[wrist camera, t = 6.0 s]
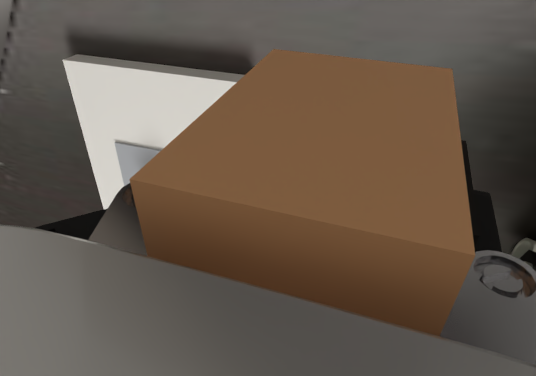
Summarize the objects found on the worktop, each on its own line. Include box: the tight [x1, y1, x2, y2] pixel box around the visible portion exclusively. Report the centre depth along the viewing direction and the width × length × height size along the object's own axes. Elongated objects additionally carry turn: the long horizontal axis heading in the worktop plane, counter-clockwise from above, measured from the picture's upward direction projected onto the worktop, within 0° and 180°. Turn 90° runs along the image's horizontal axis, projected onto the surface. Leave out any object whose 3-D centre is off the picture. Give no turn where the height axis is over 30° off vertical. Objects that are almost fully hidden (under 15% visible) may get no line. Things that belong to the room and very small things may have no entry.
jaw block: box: [129, 49, 475, 336], centre depth 10 cm, size 6×5×7 cm
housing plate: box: [63, 54, 244, 209], centre depth 31 cm, size 20×14×5 cm
